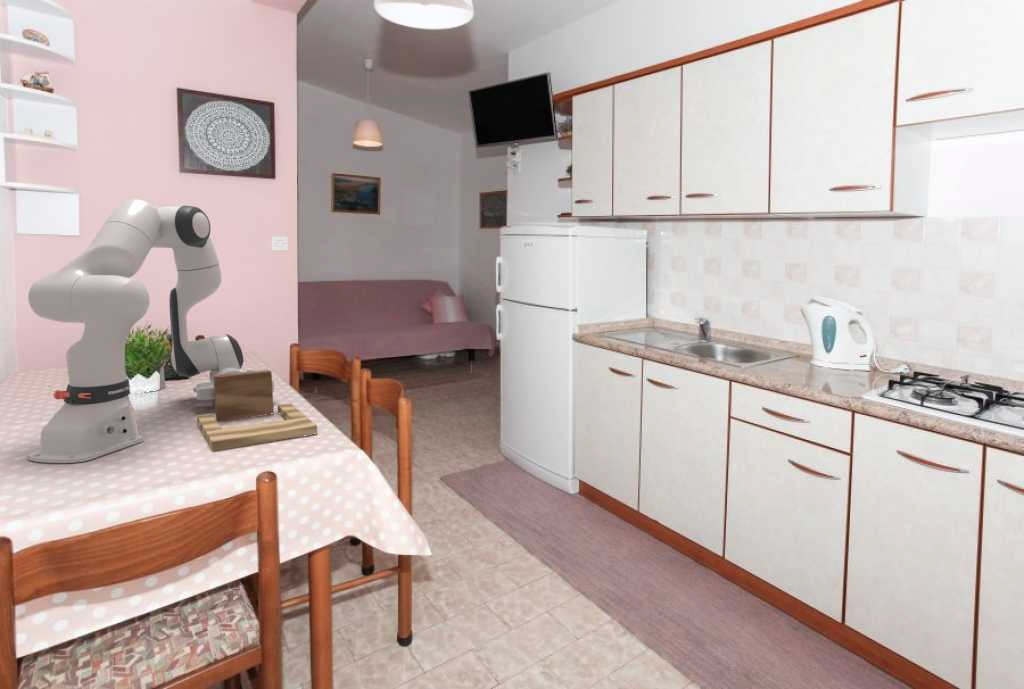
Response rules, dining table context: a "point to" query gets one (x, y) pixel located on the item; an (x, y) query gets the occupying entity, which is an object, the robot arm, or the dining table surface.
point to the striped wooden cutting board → (256, 430)
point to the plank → (243, 394)
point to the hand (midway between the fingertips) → (240, 393)
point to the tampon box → (171, 367)
